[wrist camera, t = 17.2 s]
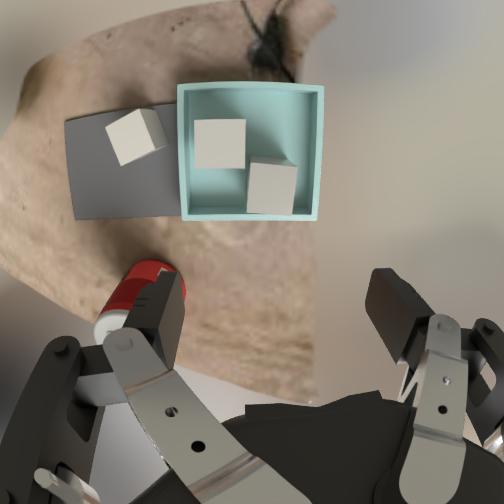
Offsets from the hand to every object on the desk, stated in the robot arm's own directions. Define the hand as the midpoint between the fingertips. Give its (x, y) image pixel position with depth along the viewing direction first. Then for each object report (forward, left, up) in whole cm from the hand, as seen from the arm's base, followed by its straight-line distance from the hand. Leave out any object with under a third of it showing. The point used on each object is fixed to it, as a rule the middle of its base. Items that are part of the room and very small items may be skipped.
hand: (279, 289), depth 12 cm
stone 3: (+1, +1, -19) cm, 19 cm away
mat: (-15, +3, -20) cm, 25 cm away
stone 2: (-3, +5, -19) cm, 20 cm away
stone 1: (-11, +6, -19) cm, 23 cm away
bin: (-1, +4, -20) cm, 20 cm away
